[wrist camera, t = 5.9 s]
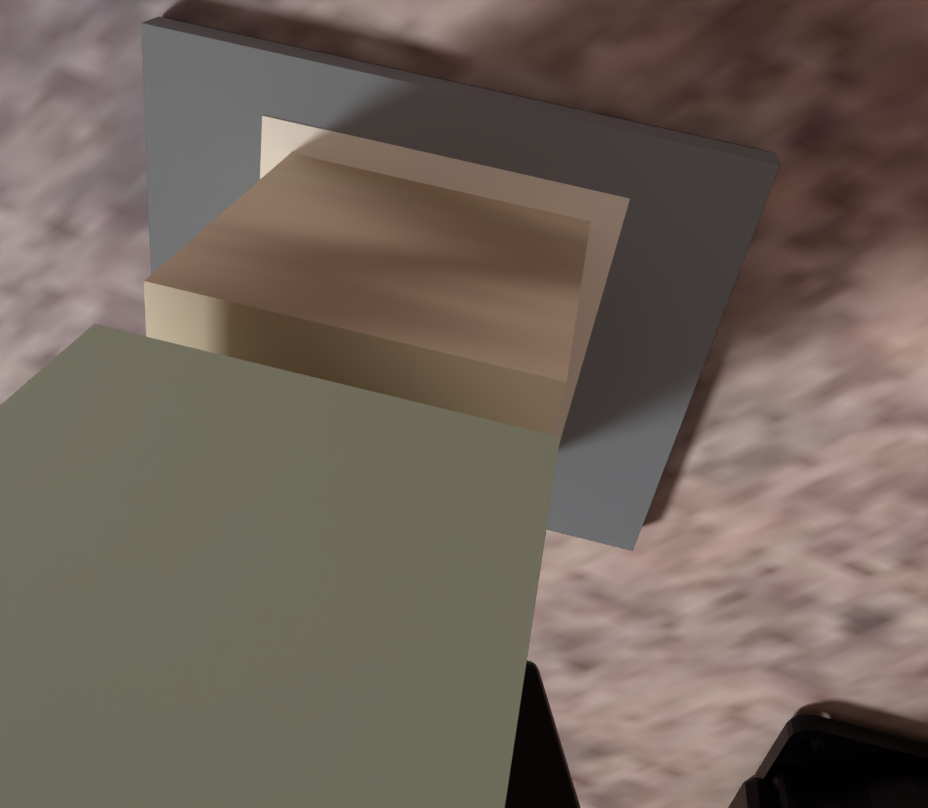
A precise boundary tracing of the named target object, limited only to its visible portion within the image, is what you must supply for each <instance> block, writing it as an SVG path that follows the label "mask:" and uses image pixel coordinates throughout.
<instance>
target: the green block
mask: <svg viewBox="0 0 928 808" xmlns="http://www.w3.org/2000/svg"><path fill="white" fill-rule="evenodd" d="M559 441H560V437H558V436H554V435H550V434H546V433H542V432H538V431H533V430H529V429H525V428H521V427H517V426H513V425H509V424H505V423H500V422H496V421H492V420H488V419H484V418H480V417H476V416H472V415H467V414H463V413H459V412H455V411H451V410H447V409H443V408H439V407H434V406H430V405H426V404H422V403H418V402H414V401H410V400H406V399H401V398H397V397H393V396H389V395H385V394H381V393H377V392H373V391H369V390H364V389H360V388H356V387H352V386H348V385H344V384H340V383H336V382H331V381H327V380H323V379H319V378H315V377H311V376H307V375H303V374H298V373H294V372H290V371H286V370H282V369H278V368H274V367H270V366H265V365H261V364H257V363H253V362H249V361H245V360H241V359H237V358H233V357H228V356H224V355H220V354H216V353H212V352H208V351H204V350H200V349H195V348H191V347H187V346H183V345H179V344H175V343H171V342H167V341H162V340H158V339H154V338H150V337H146V336H142V335H138V334H134V333H129V332H125V331H121V330H117V329H113V328H109V327H105V326H101V325H97V324H94V325H93V326H91V327H90V328H89V329H88V330H87V331H86V332H84V333H83V334H82V335H81V336H80V337H79V338H78V339H76V340H75V341H74V342H73V343H72V344H71V345H69V346H68V347H67V348H66V349H65V350H64V351H63V352H61V353H60V354H59V355H58V356H57V357H56V358H54V359H53V360H52V361H51V362H50V363H49V364H48V365H46V366H45V367H44V368H43V369H42V370H41V371H40V372H38V373H37V374H36V375H35V376H34V377H33V378H31V379H30V380H29V381H28V382H27V383H26V384H25V385H23V386H22V387H21V388H20V389H19V390H18V391H16V392H15V393H14V394H13V395H12V396H11V397H10V398H8V399H7V400H6V401H5V402H4V403H3V404H1V405H0V808H505V802H506V795H507V788H508V782H509V775H510V768H511V762H512V755H513V748H514V742H515V735H516V728H517V722H518V715H519V708H520V702H521V695H522V688H523V682H524V675H525V668H526V662H527V655H528V648H529V642H530V635H531V628H532V622H533V615H534V608H535V602H536V595H537V588H538V582H539V575H540V568H541V562H542V555H543V548H544V542H545V535H546V528H547V522H548V515H549V508H550V502H551V495H552V488H553V481H554V475H555V468H556V461H557V455H558V448H559Z"/></svg>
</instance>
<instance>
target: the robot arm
mask: <svg viewBox="0 0 928 808" xmlns="http://www.w3.org/2000/svg"><path fill="white" fill-rule="evenodd" d="M505 808H580V804H579V801H578V798H577V794H576V791H575V788H574V784H573V781H572V778H571V774H570V771H569V768H568V765H567V761H566V758H565V755H564V751H563V748H562V745H561V741H560V738H559V735H558V731H557V728H556V725H555V722H554V718H553V715H552V712H551V708H550V705H549V702H548V698H547V695H546V692H545V688H544V685H543V682H542V679H541V675H540V672H539V670H538V668H537V666H536V664H534V663H533V662H531V661H527V662H526V668H525V675H524V682H523V688H522V695H521V702H520V708H519V715H518V722H517V728H516V735H515V742H514V748H513V755H512V762H511V768H510V775H509V782H508V788H507V795H506V802H505ZM728 808H928V744H925V743H921V742H917V741H913V740H909V739H906V738H902V737H898V736H894V735H890V734H886V733H882V732H878V731H874V730H870V729H866V728H863V727H859V726H855V725H851V724H847V723H843V722H839V721H835V720H831V719H827V718H823V717H820V716H815V715H800V716H797V717H794V718H792V719H790V720H789V721H788V722H787V723H786V725H785V726H784V728H783V730H782V731H781V733H780V735H779V736H778V738H777V739H776V741H775V743H774V744H773V746H772V748H771V749H770V751H769V753H768V754H767V756H766V757H765V759H764V761H763V762H762V764H761V766H760V767H759V769H758V771H757V772H756V774H755V775H753V776H752V777H750V778H749V779H748V780H746V781H745V782H744V783H743V784H742V786H741V788H740V789H739V791H738V792H737V794H736V796H735V797H734V799H733V801H732V802H731V804H730V806H729V807H728Z"/></svg>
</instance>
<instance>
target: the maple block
mask: <svg viewBox="0 0 928 808" xmlns="http://www.w3.org/2000/svg"><path fill="white" fill-rule="evenodd" d="M590 223H591V222H590V221H586V220H582V219H577V218H573V217H568V216H564V215H560V214H555V213H551V212H547V211H542V210H538V209H533V208H529V207H525V206H520V205H516V204H512V203H507V202H503V201H498V200H494V199H490V198H485V197H481V196H477V195H472V194H468V193H463V192H459V191H455V190H450V189H446V188H442V187H437V186H433V185H428V184H424V183H420V182H415V181H411V180H407V179H402V178H398V177H393V176H389V175H385V174H380V173H376V172H372V171H367V170H363V169H358V168H354V167H350V166H345V165H341V164H337V163H332V162H328V161H323V160H319V159H315V158H310V157H306V156H302V155H297V154H293V153H290V154H289V155H288V156H286V157H285V158H284V159H283V160H282V161H281V162H280V163H278V164H277V165H276V166H275V167H274V168H273V169H272V170H270V171H269V172H268V173H267V174H266V175H265V176H264V177H262V178H261V179H260V180H259V181H258V182H257V183H256V184H254V185H253V186H252V187H251V188H250V189H249V190H247V191H246V192H245V193H244V194H243V195H242V196H241V197H239V198H238V199H237V200H236V201H235V202H234V203H233V204H231V205H230V206H229V207H228V208H227V209H226V210H225V211H223V212H222V213H221V214H220V215H219V216H218V217H217V218H215V219H214V220H213V221H212V222H211V223H210V224H209V225H207V226H206V227H205V228H204V229H203V230H202V231H201V232H199V233H198V234H197V235H196V236H195V237H194V238H193V239H191V240H190V241H189V242H188V243H187V244H186V245H185V246H183V247H182V248H181V249H180V250H179V251H178V252H177V253H175V254H174V255H173V256H172V257H171V258H170V259H169V260H167V261H166V262H165V263H164V264H163V265H162V266H160V267H159V268H158V269H157V270H156V271H155V272H154V273H152V274H151V275H150V276H149V277H148V278H147V279H146V280H144V295H145V318H146V337H150V338H154V339H158V340H162V341H167V342H171V343H175V344H179V345H183V346H187V347H191V348H195V349H200V350H204V351H208V352H212V353H216V354H220V355H224V356H228V357H233V358H237V359H241V360H245V361H249V362H253V363H257V364H261V365H265V366H270V367H274V368H278V369H282V370H286V371H290V372H294V373H298V374H303V375H307V376H311V377H315V378H319V379H323V380H327V381H331V382H336V383H340V384H344V385H348V386H352V387H356V388H360V389H364V390H369V391H373V392H377V393H381V394H385V395H389V396H393V397H397V398H401V399H406V400H410V401H414V402H418V403H422V404H426V405H430V406H434V407H439V408H443V409H447V410H451V411H455V412H459V413H463V414H467V415H472V416H476V417H480V418H484V419H488V420H492V421H496V422H500V423H505V424H509V425H513V426H517V427H521V428H525V429H529V430H533V431H538V432H542V433H546V434H550V435H552V432H553V428H554V425H555V421H556V418H557V414H558V411H559V407H560V403H561V400H562V396H563V393H564V389H565V386H566V382H567V375H568V369H569V362H570V355H571V349H572V342H573V336H574V329H575V322H576V316H577V309H578V302H579V296H580V289H581V283H582V276H583V269H584V263H585V256H586V249H587V243H588V236H589V230H590Z"/></svg>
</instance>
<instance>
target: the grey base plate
mask: <svg viewBox="0 0 928 808" xmlns="http://www.w3.org/2000/svg"><path fill="white" fill-rule="evenodd" d="M141 26H142V52H143V78H144V104H145V130H146V156H147V181H148V207H149V233H150V259H151V274H152V273H154V272H155V271H156V270H157V269H158V268H159V267H160V266H162V265H163V264H164V263H165V262H166V261H167V260H169V259H170V258H171V257H172V256H173V255H174V254H175V253H177V252H178V251H179V250H180V249H181V248H182V247H183V246H185V245H186V244H187V243H188V242H189V241H190V240H191V239H193V238H194V237H195V236H196V235H197V234H198V233H199V232H201V231H202V230H203V229H204V228H205V227H206V226H207V225H209V224H210V223H211V222H212V221H213V220H214V219H215V218H217V217H218V216H219V215H220V214H221V213H222V212H223V211H225V210H226V209H227V208H228V207H229V206H230V205H231V204H233V203H234V202H235V201H236V200H237V199H238V198H239V197H241V196H242V195H243V194H244V193H245V192H246V191H247V190H249V189H250V188H251V187H252V186H253V185H254V184H256V183H257V182H258V181H259V180H260V179H261V178H262V177H264V176H265V175H266V174H267V173H268V172H269V171H270V170H272V169H273V168H274V167H275V166H276V165H277V164H278V163H280V162H281V161H282V160H283V159H284V158H285V157H286V156H288V155H289V154H290V153H293V154H297V155H302V156H306V157H310V158H315V159H319V160H323V161H328V162H332V163H337V164H341V165H345V166H350V167H354V168H358V169H363V170H367V171H372V172H376V173H380V174H385V175H389V176H393V177H398V178H402V179H407V180H411V181H415V182H420V183H424V184H428V185H433V186H437V187H442V188H446V189H450V190H455V191H459V192H463V193H468V194H472V195H477V196H481V197H485V198H490V199H494V200H498V201H503V202H507V203H512V204H516V205H520V206H525V207H529V208H533V209H538V210H542V211H547V212H551V213H555V214H560V215H564V216H568V217H573V218H577V219H582V220H586V221H590V222H591V223H590V230H589V236H588V243H587V249H586V256H585V263H584V269H583V276H582V283H581V289H580V296H579V302H578V309H577V316H576V322H575V329H574V336H573V342H572V349H571V355H570V362H569V369H568V375H567V382H566V386H565V389H564V393H563V396H562V400H561V403H560V407H559V411H558V414H557V418H556V421H555V425H554V428H553V432H552V435H554V436H558V437H560V441H559V448H558V455H557V461H556V468H555V475H554V481H553V488H552V495H551V502H550V508H549V515H548V522H547V528H546V529H547V530H551V531H555V532H559V533H563V534H567V535H571V536H575V537H579V538H583V539H587V540H591V541H595V542H599V543H603V544H607V545H611V546H615V547H619V548H623V549H627V550H631V551H633V549H634V546H635V544H636V541H637V539H638V536H639V533H640V531H641V528H642V525H643V523H644V520H645V518H646V515H647V512H648V510H649V507H650V504H651V502H652V499H653V497H654V494H655V491H656V489H657V486H658V483H659V481H660V478H661V476H662V473H663V470H664V468H665V465H666V462H667V460H668V457H669V455H670V452H671V449H672V447H673V444H674V441H675V439H676V436H677V434H678V431H679V428H680V426H681V423H682V420H683V418H684V415H685V413H686V410H687V407H688V405H689V402H690V400H691V397H692V394H693V392H694V389H695V386H696V384H697V381H698V379H699V376H700V373H701V371H702V368H703V365H704V363H705V360H706V358H707V355H708V352H709V350H710V347H711V344H712V342H713V339H714V337H715V334H716V331H717V329H718V326H719V323H720V321H721V318H722V316H723V313H724V310H725V308H726V305H727V302H728V300H729V297H730V295H731V292H732V289H733V287H734V284H735V281H736V279H737V276H738V274H739V271H740V268H741V266H742V263H743V260H744V258H745V255H746V253H747V250H748V247H749V245H750V242H751V239H752V237H753V234H754V232H755V229H756V226H757V224H758V221H759V218H760V216H761V213H762V211H763V208H764V205H765V203H766V200H767V197H768V195H769V192H770V190H771V187H772V184H773V182H774V179H775V176H776V174H777V171H778V169H779V166H780V164H779V162H778V159H777V157H776V154H775V153H772V152H768V151H763V150H759V149H754V148H750V147H745V146H741V145H736V144H732V143H727V142H723V141H718V140H714V139H709V138H705V137H700V136H696V135H691V134H687V133H682V132H678V131H673V130H669V129H664V128H659V127H655V126H650V125H646V124H641V123H637V122H632V121H628V120H623V119H619V118H614V117H610V116H605V115H601V114H596V113H592V112H587V111H583V110H578V109H574V108H569V107H565V106H560V105H556V104H551V103H547V102H542V101H538V100H533V99H529V98H524V97H520V96H515V95H511V94H506V93H502V92H497V91H493V90H488V89H484V88H479V87H475V86H470V85H466V84H461V83H457V82H452V81H448V80H443V79H438V78H434V77H429V76H425V75H420V74H416V73H411V72H407V71H402V70H398V69H393V68H389V67H384V66H380V65H375V64H371V63H366V62H362V61H357V60H353V59H348V58H344V57H339V56H335V55H330V54H326V53H321V52H317V51H312V50H308V49H303V48H299V47H294V46H290V45H285V44H281V43H276V42H272V41H267V40H263V39H258V38H254V37H249V36H245V35H240V34H236V33H231V32H227V31H222V30H218V29H213V28H208V27H204V26H199V25H195V24H190V23H186V22H181V21H177V20H172V19H168V18H163V17H157V18H154V19H151V20H148V21H146V22H143V23H141Z"/></svg>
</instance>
